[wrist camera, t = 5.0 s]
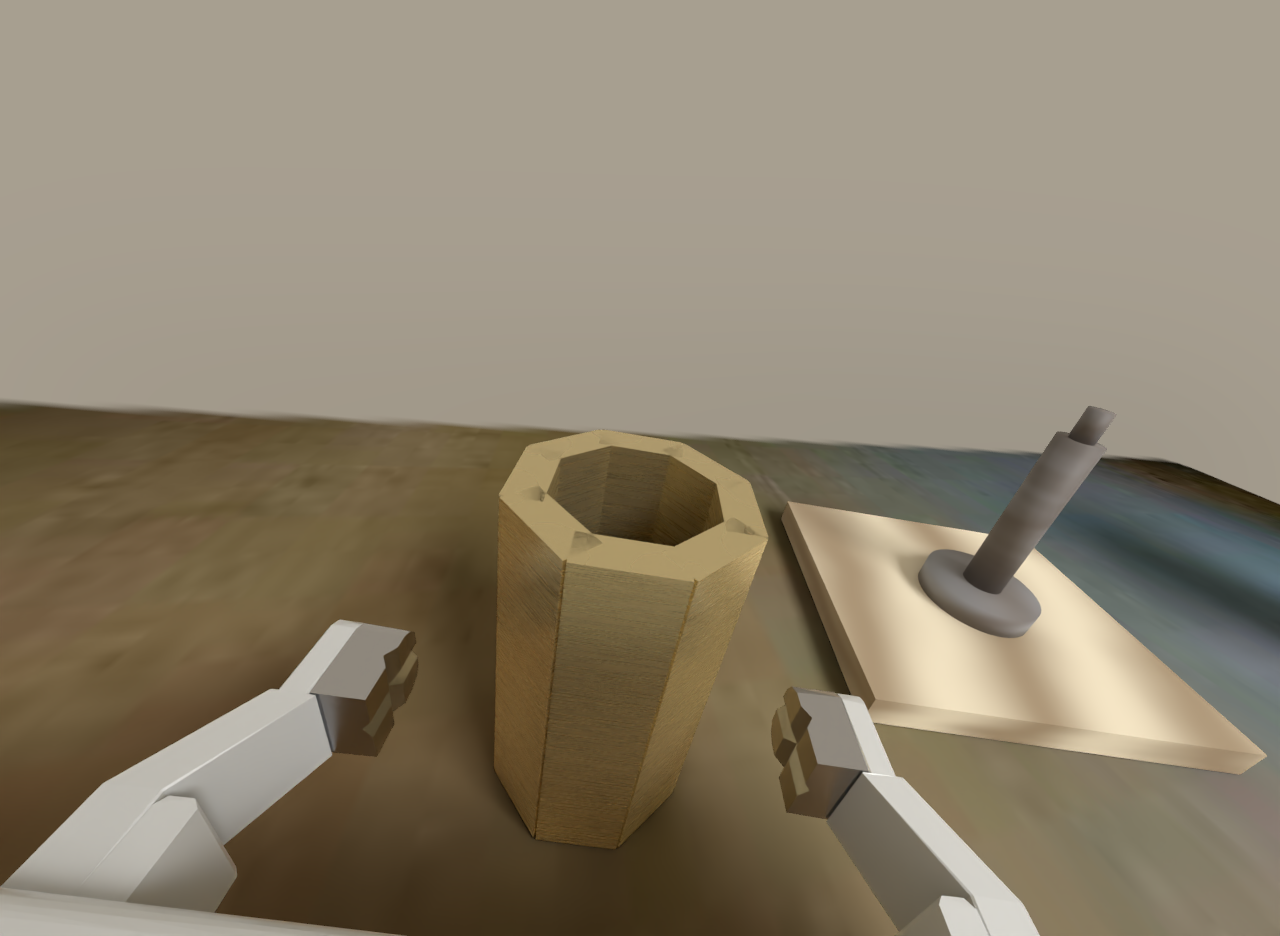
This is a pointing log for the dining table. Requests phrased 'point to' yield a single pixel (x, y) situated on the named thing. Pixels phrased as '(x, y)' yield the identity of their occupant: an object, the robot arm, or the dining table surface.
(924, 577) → the shaft stand
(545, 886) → the dining table surface
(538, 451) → the collar
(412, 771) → the dining table surface
